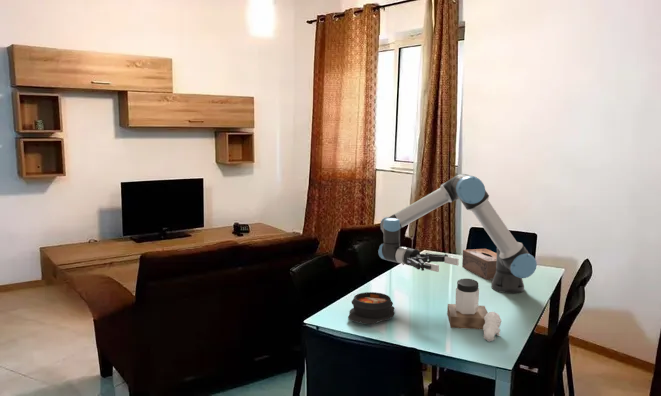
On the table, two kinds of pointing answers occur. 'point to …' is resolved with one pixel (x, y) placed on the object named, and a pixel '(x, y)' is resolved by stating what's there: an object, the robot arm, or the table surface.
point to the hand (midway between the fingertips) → (448, 265)
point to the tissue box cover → (480, 262)
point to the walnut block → (466, 318)
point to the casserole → (371, 308)
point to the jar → (467, 296)
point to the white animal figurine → (491, 326)
